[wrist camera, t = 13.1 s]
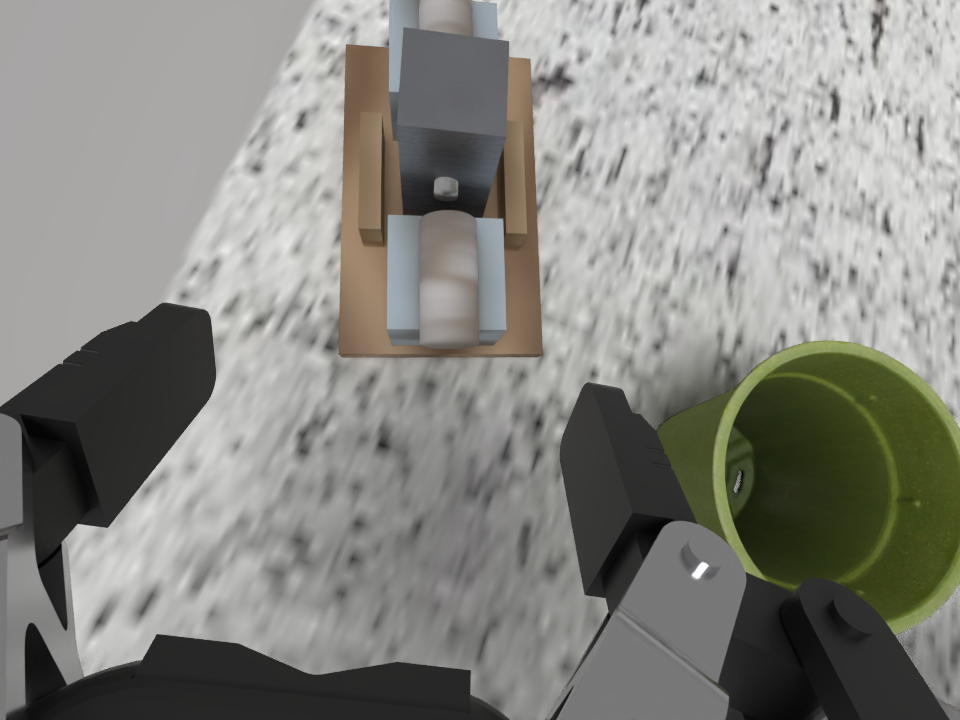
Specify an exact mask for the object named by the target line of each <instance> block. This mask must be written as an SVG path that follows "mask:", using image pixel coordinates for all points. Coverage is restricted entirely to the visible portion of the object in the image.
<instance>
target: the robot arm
mask: <svg viewBox="0 0 960 720" xmlns="http://www.w3.org/2000/svg"><path fill="white" fill-rule="evenodd" d="M215 381H216V366H215V356H214V346H213V335H212V325H211V318H210V315H209V313H208V312H207V311H206V310H203V309H198V308H193V307H187V306H182V305H177V304H171V303H162V304H160V305H158V306H157V307H156V308H155V309H153V310H152V311H151V312H149V313H148V314H147V315H146V316H144V317H143V318H142V319H140V320H139V321H138V322H132V321H130V322H127V323H125V324H122V325H119V326H117V327H114V328H112V329H109V330H107V331H104V332H101V333H100V334H99V335H97V336H96V337H95V338H93V339H92V340H91V341H89V342H88V343H86V344H85V345H84V346H82V347H81V350H80V351H76V352H74V353H73V354H71V355H70V356H69V357H67V358H66V359H65V360H64V361H63V364H58V365H57V366H55V367H54V368H52V369H51V370H50V371H48V372H47V373H46V374H44V375H43V376H42V377H40V378H39V379H38V380H36V381H35V382H34V383H32V384H31V385H29V386H28V387H27V388H25V389H24V390H23V391H21V392H20V393H18V394H17V395H16V396H14V397H13V398H12V399H10V400H9V401H8V402H6V403H5V404H3V405H2V406H1V407H0V720H510V719H509V718H507V717H506V716H505V715H504V714H502V713H501V712H500V711H499V710H497V709H496V708H494V707H492V706H491V705H489V704H488V703H486V702H484V701H483V700H481V699H479V698H477V697H474V696H472V695H470V677H471V670H462V669H453V668H445V667H436V666H427V665H419V664H410V663H401V662H395V663H389V664H383V665H377V666H371V667H365V668H358V669H352V670H346V671H340V672H334V673H328V674H322V675H312V674H308V673H305V672H302V671H300V670H298V669H296V668H293V667H291V666H289V665H286V664H284V663H282V662H279V661H277V660H275V659H272V658H270V657H268V656H266V655H263V654H261V653H259V652H256V651H254V650H252V649H249V648H247V647H245V646H242V645H240V644H237V643H229V642H220V641H211V640H203V639H194V638H185V637H177V636H168V635H160V634H157V635H156V637H155V639H154V640H153V642H152V644H151V646H150V647H149V649H148V651H147V653H146V655H145V656H144V658H143V660H140V661H134V662H130V663H126V664H123V665H119V666H115V667H111V668H108V669H105V670H103V671H100V672H97V673H94V674H92V675H89V676H86V677H84V674H83V670H82V667H81V663H80V659H79V655H78V650H77V644H76V635H75V623H74V612H73V600H72V589H71V577H70V566H69V554H68V547H67V543H66V541H65V538H66V537H67V536H68V534H69V533H70V532H71V531H72V530H73V529H74V527H75V526H76V525H77V524H83V525H90V526H98V527H105V528H108V527H109V526H110V524H111V523H112V522H113V521H114V519H115V518H116V517H117V515H118V514H119V513H120V512H121V510H122V509H123V508H124V507H125V505H126V504H127V503H128V502H129V500H130V499H131V498H132V496H133V495H134V494H135V493H136V491H137V490H138V489H139V488H140V486H141V485H142V484H143V483H144V481H145V480H146V479H147V478H148V476H149V475H150V474H151V472H152V471H153V470H154V469H155V467H156V466H157V465H158V464H159V462H160V461H161V460H162V459H163V457H164V456H165V455H166V453H167V452H168V451H169V450H170V448H171V447H172V446H173V445H174V443H175V442H176V441H177V440H178V438H179V437H180V436H181V435H182V433H183V432H184V431H185V429H186V428H187V427H188V426H189V424H190V423H191V422H192V421H193V419H194V418H195V417H196V416H197V414H198V413H199V412H200V410H201V409H202V408H203V407H204V405H205V404H206V403H207V401H208V400H209V398H210V397H211V394H212V392H213V389H214V386H215ZM664 451H665V450H664V448H663V446H662V443H661V441H660V439H659V437H658V434H657V432H656V431H655V430H654V429H653V428H652V427H651V426H650V425H649V423H648V422H647V421H646V420H645V419H644V418H643V417H642V416H641V415H640V414H634V413H632V412H631V409H630V407H629V404H628V402H627V399H626V397H625V394H624V392H623V390H622V389H620V388H616V387H611V386H606V385H600V384H595V383H589V382H588V383H586V384H585V385H584V386H583V388H582V390H581V392H580V394H579V397H578V399H577V402H576V404H575V407H574V409H573V411H572V414H571V416H570V419H569V421H568V424H567V426H566V429H565V431H564V434H563V437H562V441H561V446H560V463H561V468H562V474H563V479H564V485H565V490H566V496H567V501H568V506H569V512H570V517H571V523H572V528H573V534H574V539H575V545H576V550H577V556H578V561H579V566H580V572H581V577H582V583H583V588H584V594H585V595H588V596H595V597H602V598H606V601H607V606H608V610H609V612H608V613H607V615H606V616H605V618H604V619H603V621H602V623H601V624H600V626H599V628H598V630H597V631H596V633H595V635H594V637H593V638H592V640H591V642H590V644H589V645H588V647H587V649H586V651H585V652H584V654H583V656H582V658H581V659H580V661H579V663H578V665H577V666H576V668H575V670H574V672H573V673H572V675H571V677H570V679H569V680H568V682H567V684H566V686H565V687H564V689H563V691H562V693H561V694H560V696H559V698H558V699H557V701H556V703H555V704H554V706H553V708H552V709H551V711H550V713H549V714H548V716H547V718H546V719H545V720H960V709H958V708H956V707H954V706H952V705H950V704H948V703H946V702H944V701H942V700H940V699H938V698H936V697H935V696H934V695H933V693H932V692H931V690H930V688H929V687H928V685H927V684H926V682H925V681H924V679H923V678H922V676H921V675H920V673H919V672H918V670H917V669H916V667H915V666H914V664H913V662H912V661H911V659H910V658H909V656H908V655H907V653H906V652H905V650H904V649H903V647H902V646H901V644H900V643H899V641H898V639H897V638H896V636H895V635H894V633H893V632H892V630H891V629H890V627H889V626H888V625H887V623H886V622H885V620H884V619H883V618H882V617H881V616H880V615H879V613H878V612H877V611H876V610H875V609H874V608H873V607H872V606H871V605H869V604H868V603H867V602H866V601H865V600H864V599H862V598H861V597H860V596H858V595H857V594H856V593H854V592H853V591H851V590H849V589H848V588H846V587H844V586H842V585H840V584H839V583H836V582H834V581H831V580H828V579H824V578H817V577H816V578H809V579H806V580H805V581H804V582H802V583H801V584H800V585H799V586H798V587H797V588H796V589H795V590H794V591H793V592H791V591H789V590H786V589H784V588H782V587H779V586H777V585H775V584H772V583H770V582H768V581H765V580H763V579H761V578H758V577H756V576H754V575H752V574H749V573H747V572H745V570H744V567H743V565H742V563H741V561H740V559H739V557H738V556H737V554H736V553H735V552H734V550H733V549H732V548H731V547H730V546H729V545H728V544H727V543H726V542H725V541H724V540H723V539H722V538H720V537H719V536H718V535H716V534H715V533H714V532H712V531H710V530H709V529H707V528H705V527H703V526H701V525H698V523H697V521H696V519H695V517H694V515H693V512H692V510H691V508H690V506H689V503H688V501H687V499H686V497H685V495H684V492H683V490H682V488H681V486H680V483H679V481H678V479H677V477H676V474H675V472H674V470H673V469H671V463H670V461H669V459H668V457H667V454H664Z"/></svg>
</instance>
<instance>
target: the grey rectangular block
mask: <svg viewBox="0 0 960 720" xmlns="http://www.w3.org/2000/svg"><path fill="white" fill-rule="evenodd" d="M508 62H509V41H503V40H495V39H488V38H481V37H473V36H466V35H458V34H451V33H444V32H436V31H429V30H421V29H414V28H407V27H403V42H402V56H401V70H400V84H399V98H398V113H397V136H398V151H399V165H400V179H401V193H402V207H403V215H411V216H424V215H426V214H428V213H431V212H435V211H441V210H454V211H461V212H464V213H467V214H469V215H471V216H473V217H474V218H483V214H484V211H485V208H486V204H487V201H488V197H489V194H490V190H491V187H492V184H493V180H494V177H495V173H496V170H497V167H498V163H499V160H500V156H501V153H502V150H503V146H504V143H505V139H506V128H507V95H508Z"/></svg>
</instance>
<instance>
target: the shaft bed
mask: <svg viewBox="0 0 960 720" xmlns="http://www.w3.org/2000/svg"><path fill="white" fill-rule="evenodd" d="M403 27H407V28H414V29H421V30H429V31H436V32H444V33H451V34H458V35H466V36H473V37H481V38H488V39H495V40H498V32H497V3H486V2H475V1H472V0H390V12H389V48H386V47H373V46H360V45H348V44H346V65H345V107H344V150H343V192H342V235H341V277H340V320H339V355H340V356H341V357H539V356H540V355H542V354H543V352H542V328H541V304H540V280H539V256H538V232H537V208H536V184H535V160H534V136H533V112H532V88H531V64H530V59H525V58H513V57H509V62H508V95H507V128H506V139H505V143H504V146H503V150H502V153H501V156H500V160H499V163H498V167H497V170H496V173H495V177H494V180H493V184H492V187H491V190H490V194H489V197H488V201H487V204H486V208H485V211H484V214H483V218H474V217H473V216H471V215H469V214H467V213H464V212H461V211H454V210H441V211H435V212H431V213H428V214H426V215H424V216H411V215H403V207H402V193H401V179H400V165H399V151H398V136H397V113H398V98H399V84H400V70H401V56H402V42H403Z"/></svg>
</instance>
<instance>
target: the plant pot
mask: <svg viewBox="0 0 960 720" xmlns="http://www.w3.org/2000/svg"><path fill="white" fill-rule="evenodd" d="M656 432H657V434H658V437H659V439H660V441H661V443H662V446H663V448H664V450H665V451H664V454H667V457H668V459H669V461H670V463H671V469H673V470H674V472H675V474H676V477H677V479H678V481H679V483H680V486H681V488H682V490H683V492H684V495H685V497H686V499H687V501H688V503H689V506H690V508H691V510H692V512H693V515H694V517H695V519H696V521H697V523H698V525H701V526H703V527H705V528H707V529H709V530H710V531H712V532H714V533H715V534H716V535H718V536H719V537H720V538H722V539H723V540H724V541H725V542H726V543H727V544H728V545H729V546H730V547H731V548H732V549H733V550H734V552H735V553H736V554H737V556H738V557H739V559H740V561H741V563H742V565H743V567H744V570H745V572H747V573H749V574H752V575H754V576H756V577H758V578H761V579H763V580H765V581H768V582H770V583H772V584H775V585H777V586H779V587H782V588H784V589H786V590H789V591H791V592H793V591H794V590H795V589H796V588H797V587H798V586H799V585H800V584H801V583H802V582H804V581H805V580H806V579H809V578H816V577H817V578H824V579H828V580H831V581H834V582H836V583H839V584H840V585H842V586H844V587H846V588H848V589H849V590H851V591H853V592H854V593H856V594H857V595H858V596H860V597H861V598H862V599H864V600H865V601H866V602H867V603H868V604H869V605H871V606H872V607H873V608H874V609H875V610H876V611H877V612H878V613H879V615H880V616H881V617H882V618H883V619H884V620H885V622H886V623H887V625H888V626H889V627H890V629H891V630H892V632H893V633H894V635H896V634H899V633H902V632H904V631H906V630H908V629H910V628H912V627H914V626H915V625H917V624H919V623H921V622H923V621H924V620H925V619H927V618H928V617H930V616H931V615H932V614H934V613H935V612H936V611H937V610H938V609H939V608H940V607H941V606H942V605H943V604H944V603H945V602H946V601H947V600H948V599H949V597H950V596H951V595H952V594H953V592H954V591H955V589H956V588H957V586H958V585H959V584H960V428H959V427H958V425H957V423H956V421H955V419H954V418H953V416H952V415H951V413H950V412H949V410H948V408H947V407H946V406H945V404H944V403H943V402H942V400H941V399H940V398H939V396H938V395H937V394H936V393H935V391H934V390H933V389H932V388H931V387H930V386H929V385H928V384H927V383H926V382H925V381H924V380H923V379H921V378H920V377H919V376H918V375H917V374H915V373H914V372H913V371H912V370H910V369H909V368H908V367H906V366H905V365H903V364H902V363H900V362H898V361H897V360H895V359H894V358H892V357H890V356H888V355H886V354H884V353H882V352H879V351H877V350H875V349H872V348H869V347H866V346H863V345H860V344H856V343H850V342H841V341H813V342H807V343H802V344H798V345H795V346H792V347H789V348H786V349H784V350H782V351H780V352H778V353H776V354H774V355H772V356H770V357H769V358H767V359H766V360H764V361H763V362H761V363H760V364H759V365H758V366H756V367H755V368H754V369H753V370H752V371H751V372H750V373H749V374H748V375H747V376H746V377H745V378H744V379H743V380H742V381H741V383H740V384H738V385H737V386H736V387H734V388H733V389H732V390H731V391H728V392H726V393H724V394H722V395H719V396H717V397H715V398H713V399H710V400H708V401H706V402H703V403H701V404H699V405H696V406H694V407H692V408H689V409H687V410H685V411H683V412H681V413H678V414H676V415H675V416H673V417H671V418H670V419H668V420H667V421H666V422H665V423H663V424H662V425H661V426H660V427H659V428H658V430H657V431H656ZM740 470H742V471H743V483H742V486H741V489H740V491H739V493H738V494H736V493H735V492H734V490H733V489H734V486H735V484H736V480H737V477H738V475H739V473H738V472H739V471H740ZM730 505H731V506H730Z"/></svg>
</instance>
